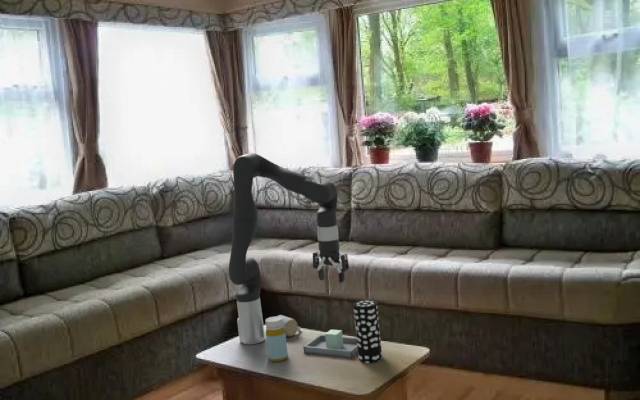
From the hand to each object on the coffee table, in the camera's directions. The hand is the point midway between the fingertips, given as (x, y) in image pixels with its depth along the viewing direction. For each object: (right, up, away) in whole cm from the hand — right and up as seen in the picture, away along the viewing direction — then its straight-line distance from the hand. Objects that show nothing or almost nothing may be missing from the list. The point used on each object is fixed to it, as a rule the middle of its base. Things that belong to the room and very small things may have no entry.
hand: (331, 281), depth 238 cm
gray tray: (+1, -26, +3) cm, 26 cm away
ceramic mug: (-17, -25, +25) cm, 39 cm away
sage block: (+1, -25, +3) cm, 25 cm away
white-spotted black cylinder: (+13, -26, -9) cm, 31 cm away
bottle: (-19, -28, 0) cm, 34 cm away
